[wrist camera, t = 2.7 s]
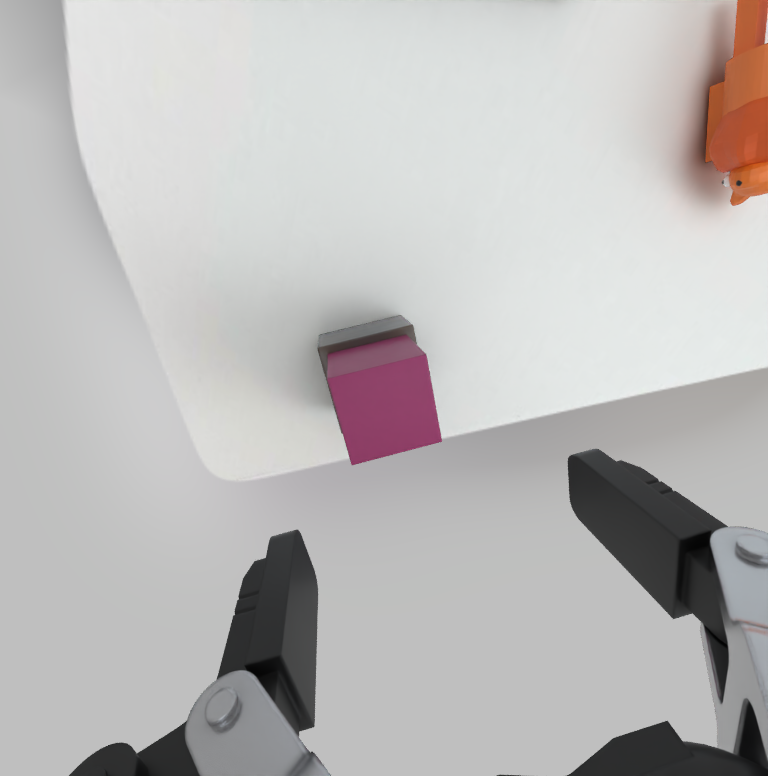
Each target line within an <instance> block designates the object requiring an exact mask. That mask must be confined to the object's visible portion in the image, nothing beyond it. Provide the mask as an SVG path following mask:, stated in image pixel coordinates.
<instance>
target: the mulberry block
mask: <svg viewBox="0 0 768 776" xmlns="http://www.w3.org/2000/svg"><path fill="white" fill-rule="evenodd" d="M327 380H328V383H329V387H330V390H331V394H332V397H333V401H334V404H335V408H336V411H337V415H338V418H339V422H340V425H341V429H342V432H343V436H344V440H345V443H346V447H347V450H348V454H349V457H350V460H351V464H352V465H355V464H358V463H362V462H366V461H369V460H374V459H377V458H381V457H385V456H389V455H393V454H397V453H400V452H404V451H408V450H412V449H416V448H419V447H423V446H427V445H431V444H435V443H439V442H442V439H441V433H440V428H439V422H438V416H437V411H436V405H435V400H434V394H433V389H432V383H431V378H430V372H429V367H428V361H427V356H426V354H425V353H424V352H423V351H422V350H421V349H420V348H419V347H418V346H417V345H416V344H415V343H414V342H413V341H412V340H411V339H410V337H409V336H408V335H403V336H399V337H394V338H390V339H386V340H382V341H378V342H374V343H370V344H366V345H362V346H358V347H354V348H350V349H345V350H341V351H337V352H333V353H329V354H328V371H327Z"/></svg>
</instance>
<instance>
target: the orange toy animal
mask: <svg viewBox="0 0 768 776" xmlns="http://www.w3.org/2000/svg"><path fill="white" fill-rule="evenodd" d="M767 12H768V0H738V2H737V15H736V28H735V41H734V54H733V58H732V59H730V60H729V61H727V62H726V67H725V81H723V82H721V83H718V84H716V85H713V86H711V87H710V91H709V108H708V124H707V141H706V158H705V163H706V162H710V161H713V164H714V165H715V167H716V169H717V170H718V171H721V172H723V173H724V172H728V171H730V174H729V175H727V176H726V177H725V178H724V180H723V181H722V184H724V186H725V187H730V186H731V188H732V189H733V193H732V196H731V200H730V202H731V204H732V205H733V206H735V205H738V204H741V203H743V202H744V201H745V200H747V199H748V198H749V197H750V196H757V195H762V194H765V193H768V43H766V44H764V42H765V32H766V22H767Z"/></svg>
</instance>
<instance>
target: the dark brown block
mask: <svg viewBox="0 0 768 776" xmlns="http://www.w3.org/2000/svg"><path fill="white" fill-rule="evenodd" d="M403 335H408V336H409V337H410V339H411V340H412V341H413V342H414V343H415V344H416V345H417V343H416V338H415V333H414V327H413V325H412V324H411V323H410V322H409V321H407V320H406V319H405V318H404V317H403V316H401V315H399V316H395V317H391V318H387V319H383V320H379V321H375V322H370V323H366V324H362V325H358V326H354V327H350V328H346V329H341V330H337V331H333V332H329V333H325V334H321V335H319V340H318V352H319V356H320V359H321V363H322V366H323V370H324V373H325V377H326V380H327V371H328V354H329V353H333V352H337V351H341V350H345V349H350V348H354V347H358V346H362V345H366V344H370V343H374V342H378V341H382V340H386V339H390V338H394V337H399V336H403ZM327 384H328V387H329V383H328V380H327ZM329 391H330V394H331V390H330V387H329ZM331 398H332V401H333V397H332V394H331ZM333 405H334V408H335V404H334V401H333ZM335 412H336V415H337V411H336V408H335ZM337 419H338V422H339V418H338V415H337ZM339 426H340V429H341V425H340V422H339ZM341 433H342V434H343V432H342V429H341Z"/></svg>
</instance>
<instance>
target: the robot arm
mask: <svg viewBox="0 0 768 776" xmlns="http://www.w3.org/2000/svg"><path fill="white" fill-rule="evenodd" d="M568 476H569V494H570V502H571V505H572V508H573V511H574V512H575V514H576V516H577V517H578V519H579V520H580V521H581V522H582V523H583V524H584V525H585V526H586V527H587V529H588V530H589V531H590V532H591V533H592V534H593V535H594V536H595V537H596V538H597V539H598V540H599V541H600V542H601V543H602V544H603V545H604V546H605V548H606V549H607V550H609V552H610V553H611V554H612V555H613V556H614V557H615V558H616V559H617V560H618V561H619V562H620V563H621V564H622V565H623V566H624V568H626V570H628V572H629V573H630V574H631V575H632V576H633V577H634V578H635V579H636V580H637V581H638V582H639V583H640V584H641V585H642V586H643V587H644V589H645V590H646V591H647V592H648V593H649V594H650V595H651V596H652V597H653V598H654V599H655V600H656V601H657V602H658V603H659V604H660V605H661V606H662V607H663V609H664V610H665V611H666V612H668V614H669V615H670V616H671V617H672V618H673V619H675V618H679V617H681V616H685V615H688V614H692V613H693V614H694V615H695V616H696V617H697V618H698V619H699V620H700V621H701V627H700V632H701V638H702V643H703V648H704V654H705V659H706V665H707V670H708V675H709V681H710V686H711V691H712V697H713V702H714V707H715V712H716V720H717V744H718V748H715V747H711V746H708V745H705V744H698V743H693V742H683V741H682V740H681V739H680V737H679V736H678V735H677V733H676V732H675V730H674V729H673V728H672V727H671V725H670V724H669V722H668V721H665V722H662V723H659V724H656V725H653V726H650V727H646V728H643V729H640V730H637V731H634V732H631V733H628V734H625V735H622V736H619V737H616V738H613V739H612V740H611V741H610V742H608V743H607V744H606V745H605V746H604V747H603V748H601V749H600V750H599V751H598V752H596V753H595V754H594V755H593V756H592V757H590V758H589V759H588V760H587V761H586V762H584V763H583V764H582V765H581V766H579V767H578V768H577V769H576V770H575V771H574V772H572V773H571V774H569V775H567V776H768V533H766V532H764V531H760V530H757V529H753V528H747V527H728V526H726V525H725V524H723V523H722V522H720V521H719V520H717V519H716V518H715V517H713V516H711V515H710V514H709V513H707V512H706V511H704V510H703V509H701V508H700V507H698V506H697V505H695V504H694V503H692V502H691V501H690V500H688V499H687V498H685V497H684V496H682V495H681V494H679V493H678V492H676V491H673V490H672V488H670V487H669V486H667V485H666V484H665V483H663V482H659V481H658V479H657V478H656V477H654V476H653V475H651V474H650V473H648V472H647V471H645V470H644V469H642V468H640V467H638V466H635V465H632V464H629V463H627V462H624V461H617V462H616V461H615V460H613V459H612V458H610V457H609V456H608V455H606V454H605V453H604V452H602V451H601V450H599V449H592V450H588V451H584V452H581V453H577V454H573V455H571V456H569V458H568ZM317 610H318V586H317V579H316V575H315V571H314V568H313V565H312V563H311V560H310V557H309V555H308V552H307V549H306V547H305V544H304V541H303V539H302V536H301V533H300V532H299V531H298V530H294V531H290V532H287V533H283V534H279V535H276V536H272V537H271V538H270V541H269V545H268V550H267V555H266V558H264V559H261V560H257V561H255V562H254V563H253V564H252V566H251V568H250V569H249V570H248V572H247V574H246V575H245V577H244V578H243V581H242V585H241V589H240V593H239V600H238V601H237V605H236V608H235V615H234V616H233V620H232V623H231V627H230V631H229V635H228V639H227V643H226V647H225V650H224V654H223V658H222V662H221V666H220V670H219V673H218V677H217V680H216V681H214V682H213V683H212V684H211V685H210V686H209V687H208V688H207V689H206V690H205V691H204V692H203V693H202V694H201V695H200V697H199V698H198V700H197V701H196V702H195V704H194V706H193V708H192V710H191V711H190V714H189V717H188V720H187V721H186V722H185V723H184V724H182V725H181V726H179V727H178V728H177V729H175V730H174V731H172V732H170V733H169V734H167V735H166V736H164V737H163V738H161V739H159V740H158V741H156V742H155V743H153V744H151V745H150V746H148V747H147V748H145V749H144V750H142V751H140V752H139V753H136V752H135V751H134V750H133V748H132V747H131V746H130V745H128V744H126V743H115V744H111V745H108V746H106V747H104V748H102V749H100V750H99V751H97V752H95V753H94V754H92V755H91V756H90V757H88V758H87V759H86V760H85V761H83V762H82V763H81V764H80V765H79V766H78V767H77V768H76V769H75V770H74V771H73V772H72V773H71V774H70V775H69V776H331V775H330V773H329V772H328V771H327V769H326V768H325V767H324V765H323V764H322V763H321V761H320V760H319V758H318V757H317V756H316V755H315V754H314V753H313V752H311V753H310V752H309V750H308V749H307V748H306V747H305V745H304V744H303V742H302V741H301V740H300V738H299V731H302V730H306V729H309V728H312V727H314V722H315V719H314V718H315V685H316V647H317ZM497 776H519V775H497Z"/></svg>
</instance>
